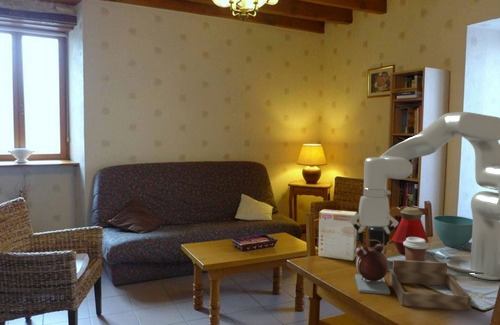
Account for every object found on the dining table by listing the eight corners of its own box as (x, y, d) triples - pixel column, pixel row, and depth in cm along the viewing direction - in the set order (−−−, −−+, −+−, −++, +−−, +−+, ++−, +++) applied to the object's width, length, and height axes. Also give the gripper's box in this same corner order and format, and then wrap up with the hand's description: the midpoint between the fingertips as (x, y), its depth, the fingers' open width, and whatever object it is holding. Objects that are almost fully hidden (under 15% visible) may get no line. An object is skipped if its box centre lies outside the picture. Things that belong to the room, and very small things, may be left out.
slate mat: (382, 278, 145) (382, 275, 145) (390, 294, 132) (390, 291, 132) (354, 276, 147) (354, 274, 147) (359, 292, 133) (359, 289, 133)
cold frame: (448, 284, 140) (449, 262, 139) (470, 310, 120) (472, 285, 120) (389, 281, 143) (390, 259, 142) (401, 305, 123) (402, 280, 123)
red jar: (412, 246, 184) (414, 204, 183) (435, 255, 172) (437, 210, 170) (384, 250, 179) (386, 206, 177) (406, 259, 166) (408, 212, 164)
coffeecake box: (356, 256, 171) (357, 211, 169) (353, 261, 164) (354, 215, 162) (322, 251, 177) (322, 208, 175) (317, 256, 170) (318, 211, 168)
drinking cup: (364, 257, 169) (365, 211, 168) (381, 256, 170) (383, 210, 168) (371, 263, 162) (372, 215, 160) (389, 262, 162) (390, 214, 161)
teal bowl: (483, 251, 178) (485, 224, 177) (443, 250, 178) (444, 224, 177) (462, 239, 196) (464, 215, 195) (425, 239, 196) (427, 215, 195)
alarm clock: (384, 278, 142) (384, 237, 141) (389, 283, 137) (389, 240, 136) (354, 279, 142) (354, 238, 140) (358, 284, 137) (358, 242, 136)
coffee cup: (397, 266, 159) (398, 236, 158) (417, 264, 160) (418, 235, 159) (411, 274, 150) (412, 243, 149) (432, 272, 152) (433, 242, 151)
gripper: (398, 192, 139) (396, 241, 140) (347, 190, 141) (346, 239, 143) (403, 196, 131) (401, 248, 133) (349, 194, 134) (348, 245, 136)
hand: (373, 243), depth 138 cm, fingers closed on alarm clock, 7 cm apart
